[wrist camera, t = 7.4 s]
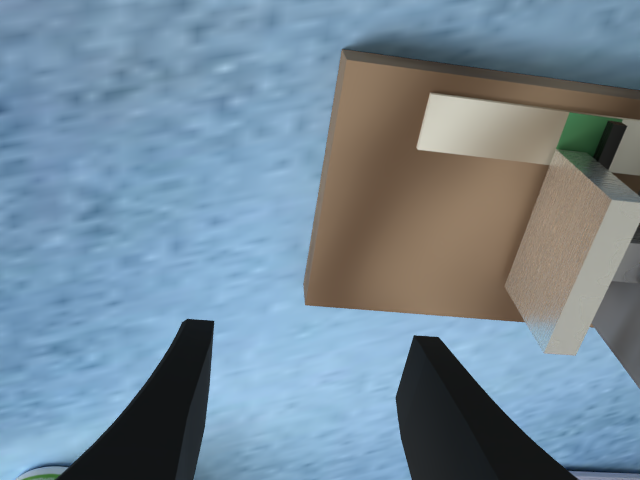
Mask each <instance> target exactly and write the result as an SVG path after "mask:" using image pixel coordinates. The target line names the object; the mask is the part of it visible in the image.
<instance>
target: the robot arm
mask: <svg viewBox="0 0 640 480" xmlns="http://www.w3.org/2000/svg"><path fill="white" fill-rule="evenodd" d="M213 331H214V321H208V320H194V319H186V320H185V321H184V322H182V324H181V326H180V328H179V331H178V333H177V335H176V337H175V338H174V340H173V342H172V344H171V346H170V347H169V349H168V351H167V352H166V354H165V355H164V357H163V359H162V360H161V362H160V363H159V365H158V366H157V367H156V369H155V370H154V372H153V373H152V375H151V376H150V378H149V379H148V380H147V382H146V383H145V385H144V386H143V387H142V388H141V390H140V391H139V392H138V394H137V395H136V396H135V397H134V399H133V400H132V401H131V402H130V404H129V405H128V406H127V407H126V409H125V410H124V411H123V412H122V413H121V415H120V416H119V417H118V418H117V419H116V420H115V421H114V423H113V424H112V425H111V426H110V427H109V428H108V429H107V430H106V431H105V432H104V433H103V434H102V435H101V436H100V438H99V439H98V440H97V441H96V442H95V443H94V444H93V445H92V446H91V447H90V448H89V449H88V450H86V451H85V452H84V453H83V454H82V455H81V456H80V457H79V458H78V459H77V460H76V461H75V462H74V463H73V464H72V465H71V466H70V467H69V468H67V469H66V470H65V471H64V472H63V473H62V474H61V475H60V476H58V477H57V478H56V479H55V480H193V478H194V474H195V469H196V465H197V460H198V456H199V451H200V447H201V442H202V437H203V433H204V428H205V420H206V412H207V403H208V394H209V385H210V371H211V358H212V344H213ZM396 405H397V413H398V421H399V428H400V435H401V440H402V444H403V448H404V451H405V455H406V459H407V463H408V467H409V470H410V474H411V478H412V480H640V474H629V473H605V472H581V471H568V470H566V469H565V468H564V467H563V466H561V465H560V464H559V463H558V462H557V461H556V460H554V459H553V458H552V457H551V456H550V455H549V454H547V453H546V452H545V451H544V450H543V449H542V448H541V447H539V446H538V445H537V444H536V443H535V442H534V441H533V440H532V439H531V438H530V437H529V436H527V435H526V434H525V433H524V432H523V431H522V430H521V429H520V428H519V427H518V426H517V425H516V424H515V423H514V422H513V421H512V420H511V419H510V418H509V417H508V416H507V415H506V414H505V413H504V412H503V410H502V409H501V408H500V407H499V406H498V405H497V404H496V403H495V402H494V401H493V400H492V399H491V398H490V397H489V395H488V394H487V393H486V392H485V391H484V390H483V389H482V388H481V386H480V385H479V384H478V383H477V382H476V381H475V380H474V378H473V377H472V376H471V375H470V374H469V373H468V371H467V370H466V369H465V368H464V367H463V365H462V364H461V363H460V362H459V361H458V360H457V358H456V357H455V356H454V355H453V354H452V352H451V351H450V350H449V349H448V348H447V346H446V345H445V344H444V343H443V342H442V341H441V340H440V338H439V337H429V336H415V335H414V337H413V340H412V344H411V347H410V350H409V354H408V357H407V361H406V364H405V367H404V371H403V374H402V378H401V381H400V384H399V388H398V391H397V395H396Z"/></svg>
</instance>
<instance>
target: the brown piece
mask: <svg viewBox="0 0 640 480" xmlns="http://www.w3.org/2000/svg"><path fill="white" fill-rule="evenodd" d="M608 120H609V121H616V122H622V123H623V124H625V125H626V126H627V128H626V130H625V133H624V135H623V137H622V140H621V142H620V144H619V147H618V149H617V151H616V154H615V156H614V158H613V161H612V163H611V165H610V168H609V171H610V172H611V173H612V174H613V175H615V176H616V177H617V178H618V179H619V180H621V181H622V182H623V183H624V184H625V185H627V186H628V187H629V188H630V189H631V190H633V191H634V192H635V193H636V194H637V195H639V196H640V90H633V89H626V88H618V87H611V86H604V85H597V84H590V83H582V82H575V81H568V80H561V79H554V78H546V77H539V76H532V75H525V74H518V73H510V72H503V71H496V70H489V69H482V68H474V67H467V66H460V65H453V64H446V63H438V62H431V61H424V60H417V59H410V58H402V57H395V56H388V55H381V54H374V53H366V52H359V51H352V50H345V49H342V52H341V58H340V64H339V70H338V77H337V83H336V89H335V95H334V101H333V107H332V113H331V119H330V125H329V131H328V138H327V144H326V150H325V156H324V162H323V168H322V174H321V180H320V186H319V192H318V198H317V205H316V211H315V217H314V223H313V229H312V235H311V241H310V247H309V253H308V259H307V266H306V272H305V278H304V284H303V285H304V297H305V305H310V306H323V307H336V308H349V309H362V310H374V311H387V312H400V313H413V314H426V315H439V316H452V317H464V318H477V319H490V320H503V321H516V322H525V321H524V319H523V317H522V316H521V314H520V312H519V311H518V309H517V307H516V305H515V304H514V302H513V300H512V299H511V297H510V295H509V294H508V292H507V290H506V288H505V284H506V281H507V279H508V276H509V273H510V270H511V268H512V265H513V262H514V260H515V257H516V254H517V252H518V249H519V246H520V244H521V241H522V238H523V236H524V233H525V230H526V228H527V225H528V222H529V220H530V217H531V214H532V212H533V209H534V206H535V204H536V201H537V198H538V196H539V193H540V190H541V188H542V185H543V182H544V180H545V177H546V174H547V171H548V169H549V166H550V163H551V161H552V158H553V155H554V153H555V150H556V149H560V150H569V151H577V152H585V153H588V154H589V155H590V156H592V157H593V156H594V153H595V151H596V148H597V146H598V144H599V141H600V139H601V136H602V134H603V131H604V129H605V126H606V124H607V122H608ZM639 224H640V223H639ZM590 327H593V328H595V329H596V330H597V332H598V333H599V334H600V336H601V337H602V338H603V340H604V341H605V342H606V344H607V345H608V347H609V348H610V349H611V351H612V352H613V353H614V355H615V356H616V357H617V359H618V360H619V361H620V363H621V364H622V365H623V367H624V368H625V370H626V371H627V372H628V374H629V375H630V376H631V378H632V379H633V380H634V382H635V383H636V384H637V386H638V387H639V388H640V284H639V283H628V282H617V281H611V283H610V285H609V287H608V289H607V291H606V293H605V296H604V298H603V300H602V302H601V304H600V306H599V308H598V310H597V312H596V314H595V316H594V318H593V320H592V323H591V325H590Z"/></svg>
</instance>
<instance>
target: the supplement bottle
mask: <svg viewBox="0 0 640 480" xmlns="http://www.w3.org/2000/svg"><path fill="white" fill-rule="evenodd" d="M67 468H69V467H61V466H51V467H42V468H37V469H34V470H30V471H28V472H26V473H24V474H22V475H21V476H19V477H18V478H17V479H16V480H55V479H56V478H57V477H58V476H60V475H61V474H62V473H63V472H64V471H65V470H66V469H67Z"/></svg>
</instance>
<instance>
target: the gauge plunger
mask: <svg viewBox="0 0 640 480" xmlns="http://www.w3.org/2000/svg"><path fill="white" fill-rule="evenodd" d="M626 128H627V126H626V125H625V124H623V123H622V122H616V121H609V120H608V122H607V124H606V126H605V129H604V131H603V134H602V136H601V139H600V141H599V144H598V146H597V148H596V151H595V153H594V156H593V157H592V156H590V155H589V154H588V153H585V152H577V151H569V150H560V149H556V150H555V153H554V155H553V158H552V161H551V163H550V166H549V169H548V171H547V174H546V177H545V180H544V182H543V185H542V188H541V190H540V193H539V196H538V198H537V201H536V204H535V206H534V209H533V212H532V214H531V217H530V220H529V222H528V225H527V228H526V230H525V233H524V236H523V238H522V241H521V244H520V246H519V249H518V252H517V254H516V257H515V260H514V262H513V265H512V268H511V270H510V273H509V276H508V279H507V281H506V284H505V288H506V290H507V292H508V294H509V295H510V297H511V299H512V300H513V302H514V304H515V305H516V307H517V309H518V311H519V312H520V314H521V316H522V317H523V319H524V321H525V322H526V324H527V326H528V328H529V329H530V331H531V333H532V334H533V336H534V338H535V339H536V341H537V343H538V345H539V346H540V348H541V350H542V351H543V353H547V354H562V355H576V354H577V352H578V349H579V347H580V345H581V343H582V341H583V339H584V337H585V335H586V333H587V331H588V329H589V327H590V325H591V323H592V320H593V318H594V316H595V314H596V312H597V310H598V308H599V306H600V304H601V302H602V300H603V298H604V296H605V293H606V291H607V289H608V287H609V285H610V283H611V281H617V282H628V283H639V284H640V224H639V223H640V196H639V195H637V194H636V193H635V192H634V191H633V190H631V189H630V188H629V187H628V186H627V185H625V184H624V183H623V182H622V181H621V180H619V179H618V178H617V177H616V176H615V175H613V174H612V173H611V172H610V171H609V168H610V165H611V163H612V161H613V158H614V156H615V154H616V151H617V149H618V147H619V144H620V142H621V140H622V137H623V135H624V133H625V130H626Z"/></svg>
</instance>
